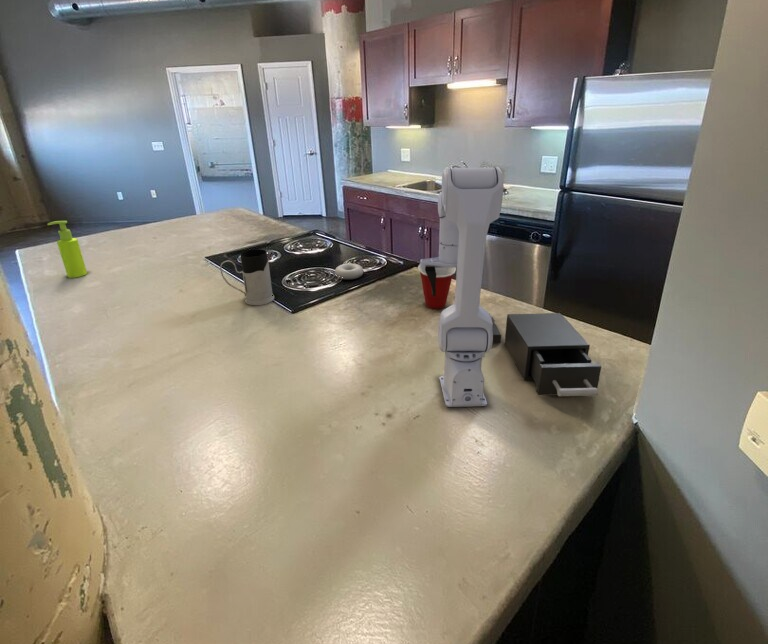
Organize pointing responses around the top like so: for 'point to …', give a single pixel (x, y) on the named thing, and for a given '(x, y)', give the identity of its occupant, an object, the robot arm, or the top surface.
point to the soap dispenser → (70, 252)
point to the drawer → (564, 372)
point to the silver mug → (255, 277)
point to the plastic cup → (437, 286)
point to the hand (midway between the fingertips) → (448, 294)
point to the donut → (349, 271)
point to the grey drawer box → (539, 337)
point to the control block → (495, 333)
